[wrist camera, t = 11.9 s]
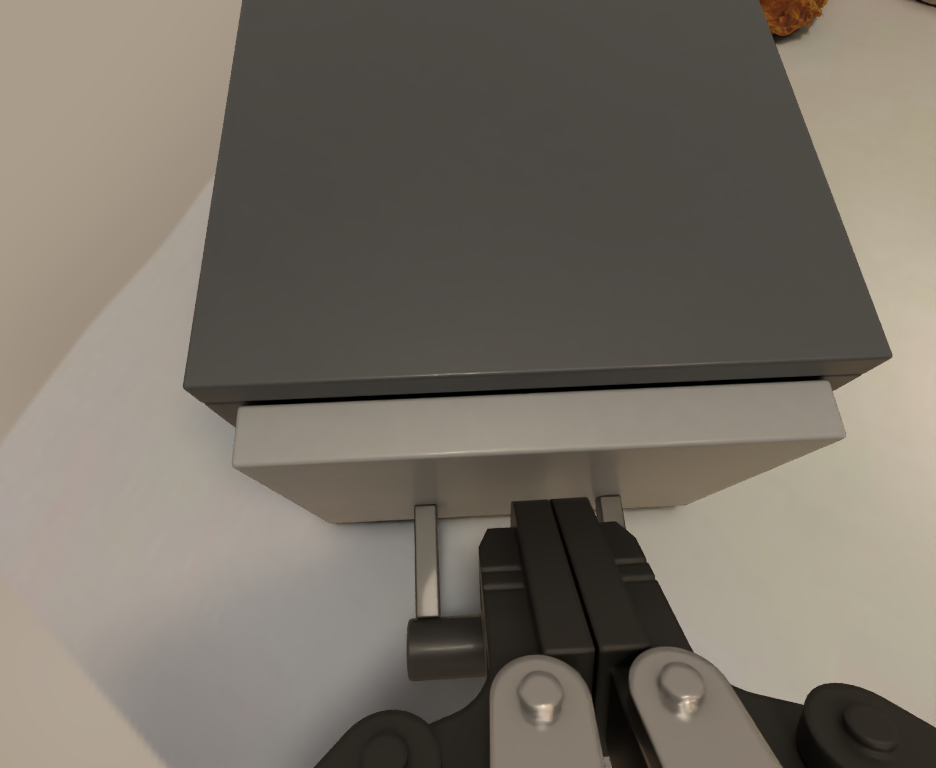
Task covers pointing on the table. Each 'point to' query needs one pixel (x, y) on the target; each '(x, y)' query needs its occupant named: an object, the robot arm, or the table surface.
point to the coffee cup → (930, 1)
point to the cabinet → (517, 205)
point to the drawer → (520, 463)
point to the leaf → (790, 14)
